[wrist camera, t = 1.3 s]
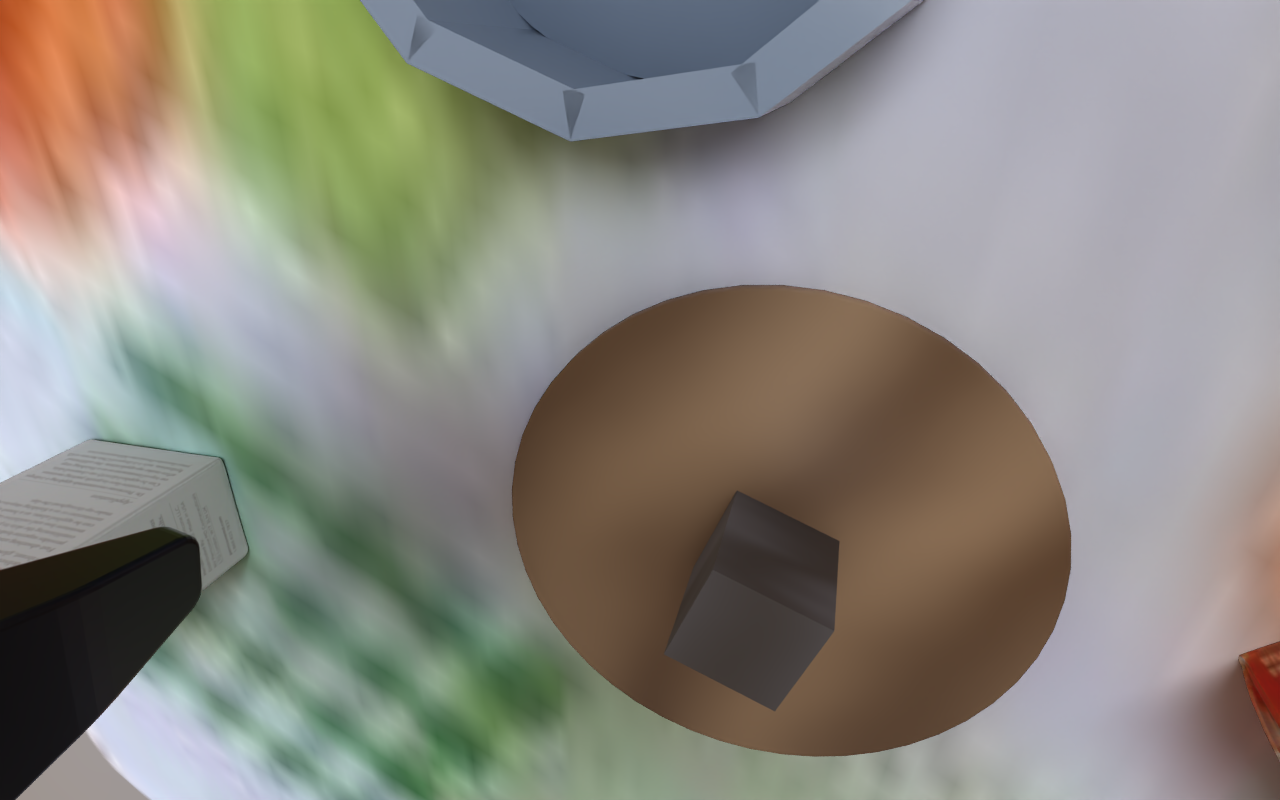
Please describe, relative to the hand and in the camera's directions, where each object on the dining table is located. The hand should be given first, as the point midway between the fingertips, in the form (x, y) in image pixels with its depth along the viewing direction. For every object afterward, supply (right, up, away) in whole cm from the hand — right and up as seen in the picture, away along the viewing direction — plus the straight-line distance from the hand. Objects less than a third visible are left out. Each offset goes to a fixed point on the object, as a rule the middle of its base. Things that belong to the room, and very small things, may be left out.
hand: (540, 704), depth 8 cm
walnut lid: (+5, -1, +13) cm, 14 cm away
